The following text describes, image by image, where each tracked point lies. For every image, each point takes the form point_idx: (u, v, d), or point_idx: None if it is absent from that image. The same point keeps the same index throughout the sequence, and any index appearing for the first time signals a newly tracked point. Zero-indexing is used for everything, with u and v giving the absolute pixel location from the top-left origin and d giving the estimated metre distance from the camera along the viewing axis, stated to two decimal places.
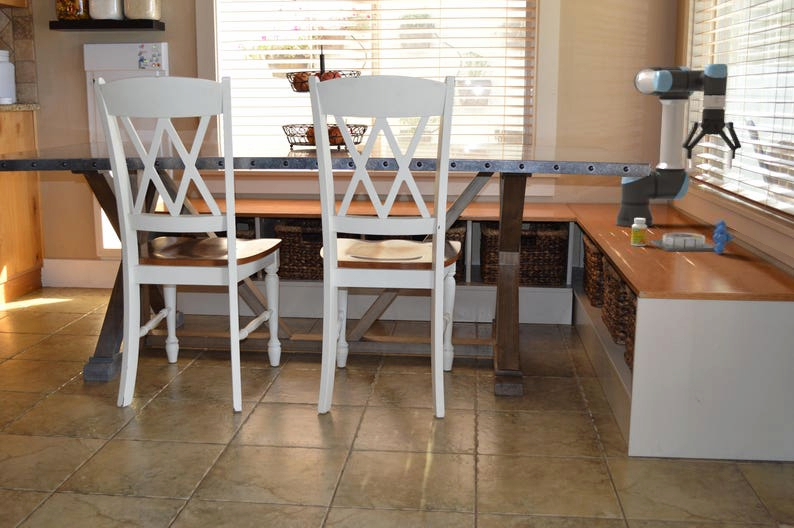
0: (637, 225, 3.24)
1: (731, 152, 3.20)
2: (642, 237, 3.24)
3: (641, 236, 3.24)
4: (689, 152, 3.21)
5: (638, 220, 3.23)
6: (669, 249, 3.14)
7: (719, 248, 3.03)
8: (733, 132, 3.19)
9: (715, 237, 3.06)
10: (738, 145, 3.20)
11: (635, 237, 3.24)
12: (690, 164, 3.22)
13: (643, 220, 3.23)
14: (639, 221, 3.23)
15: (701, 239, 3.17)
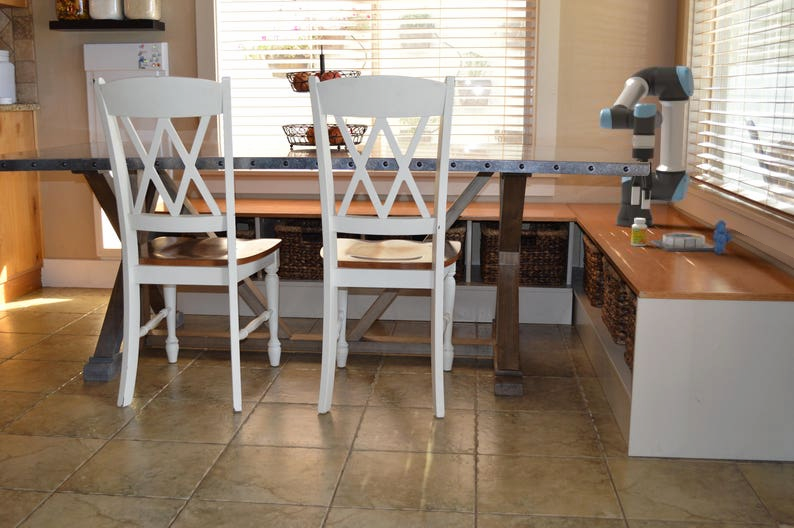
0: (637, 225, 3.24)
1: (642, 192, 3.16)
2: (642, 237, 3.24)
3: (641, 236, 3.24)
4: None
5: (638, 220, 3.23)
6: (669, 249, 3.14)
7: (719, 248, 3.03)
8: None
9: (715, 237, 3.06)
10: (645, 186, 3.14)
11: (635, 237, 3.24)
12: None
13: (643, 220, 3.23)
14: (639, 221, 3.23)
15: (701, 239, 3.17)
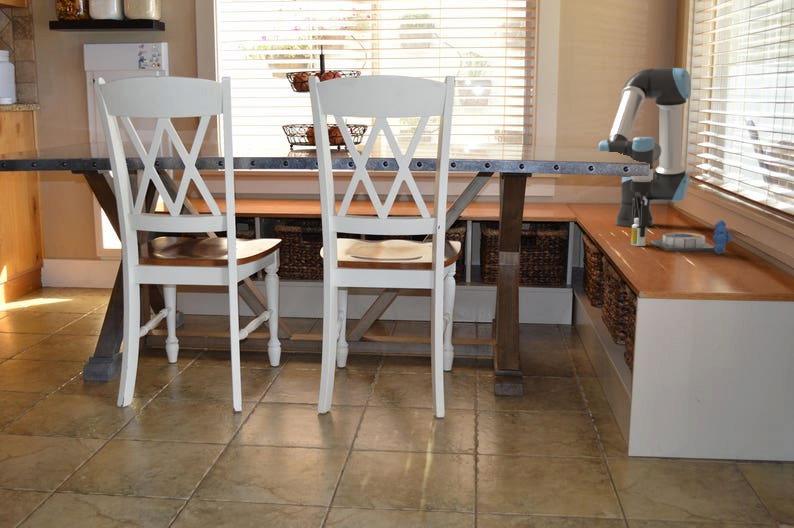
0: (637, 225, 3.24)
1: (638, 230, 3.23)
2: None
3: None
4: None
5: (638, 220, 3.23)
6: (669, 249, 3.14)
7: (719, 248, 3.03)
8: (641, 209, 3.19)
9: (715, 237, 3.06)
10: (640, 223, 3.20)
11: (635, 237, 3.24)
12: None
13: None
14: None
15: (701, 239, 3.17)
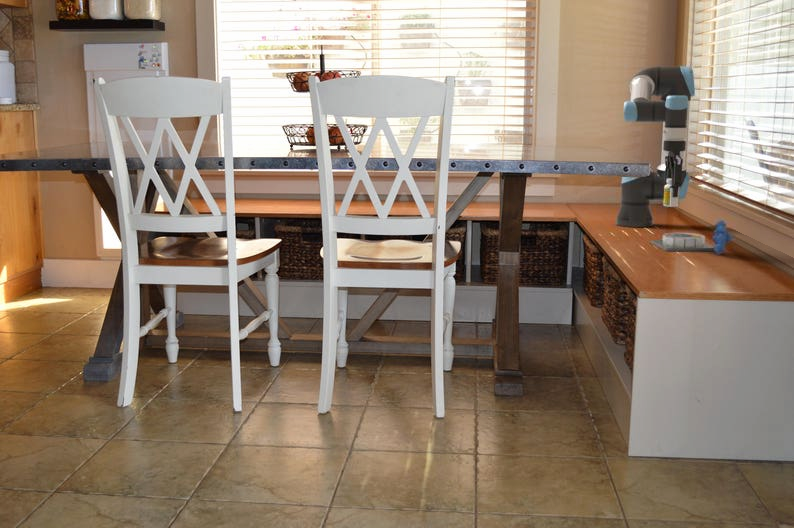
0: (670, 185, 3.18)
1: None
2: None
3: None
4: None
5: (671, 180, 3.18)
6: (669, 249, 3.14)
7: (719, 248, 3.03)
8: (674, 169, 3.13)
9: (715, 237, 3.06)
10: (673, 183, 3.14)
11: (668, 197, 3.19)
12: None
13: None
14: None
15: (701, 239, 3.17)
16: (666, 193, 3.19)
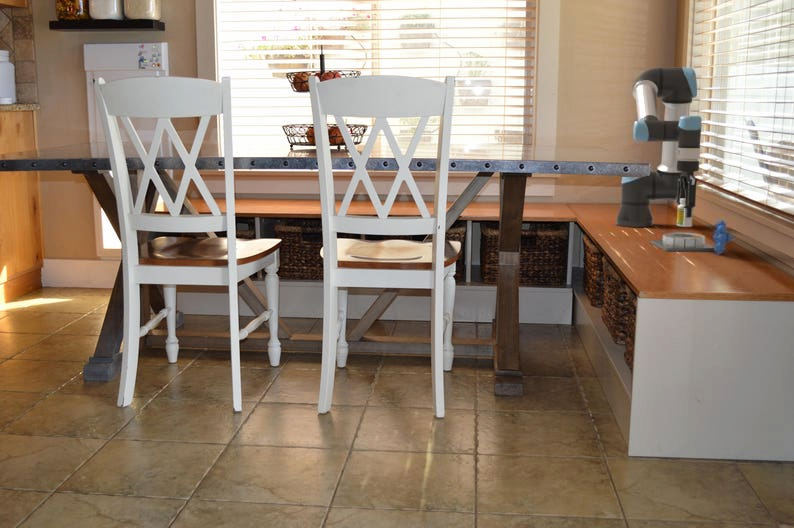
0: (683, 205, 3.19)
1: (684, 210, 3.18)
2: None
3: None
4: None
5: (684, 200, 3.18)
6: (669, 249, 3.14)
7: (719, 248, 3.03)
8: (688, 189, 3.14)
9: (715, 237, 3.06)
10: (687, 203, 3.15)
11: (681, 217, 3.19)
12: None
13: None
14: None
15: (701, 239, 3.17)
16: (680, 213, 3.19)
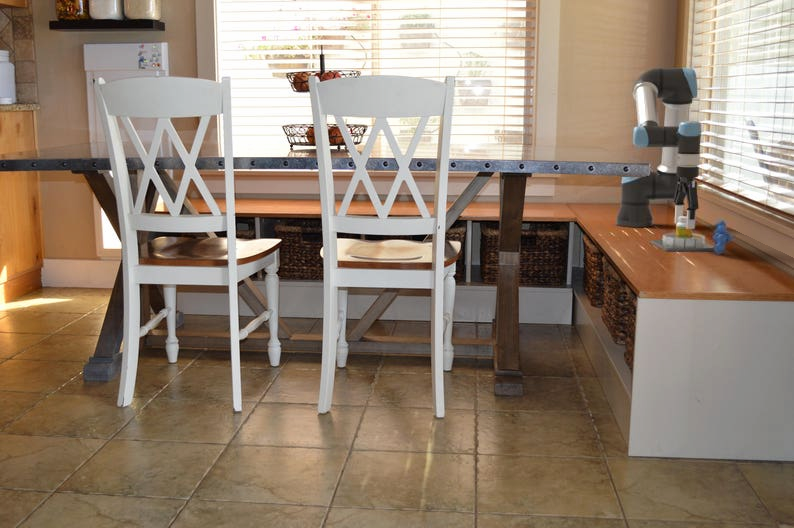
0: (682, 223, 3.20)
1: (687, 212, 3.14)
2: (687, 235, 3.19)
3: (686, 235, 3.19)
4: None
5: (683, 218, 3.19)
6: (669, 249, 3.14)
7: (719, 248, 3.03)
8: (689, 192, 3.12)
9: (715, 237, 3.06)
10: (690, 206, 3.11)
11: (680, 235, 3.20)
12: None
13: None
14: (684, 220, 3.19)
15: (701, 239, 3.17)
16: (678, 231, 3.21)
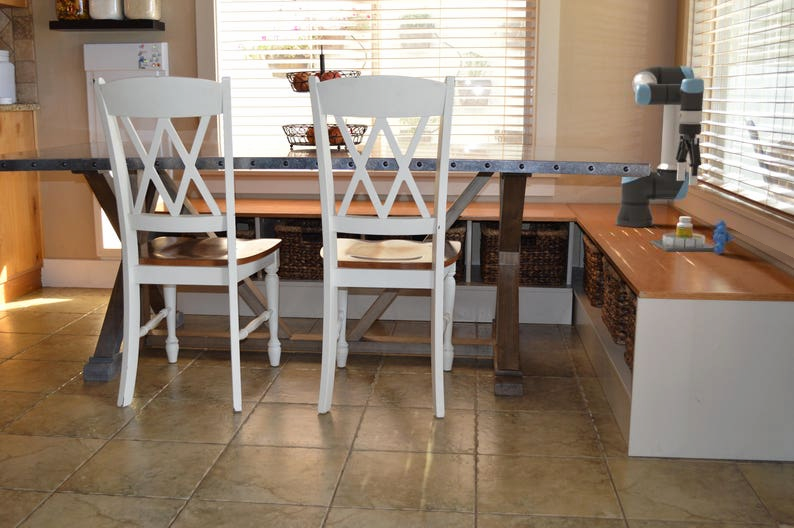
0: (683, 224, 3.20)
1: (690, 169, 3.15)
2: (687, 236, 3.19)
3: (686, 235, 3.19)
4: None
5: (684, 218, 3.19)
6: (669, 249, 3.14)
7: (719, 248, 3.03)
8: (692, 148, 3.13)
9: (715, 237, 3.06)
10: (693, 162, 3.12)
11: (681, 236, 3.20)
12: None
13: (689, 218, 3.19)
14: (685, 220, 3.19)
15: (701, 239, 3.17)
16: (679, 231, 3.20)
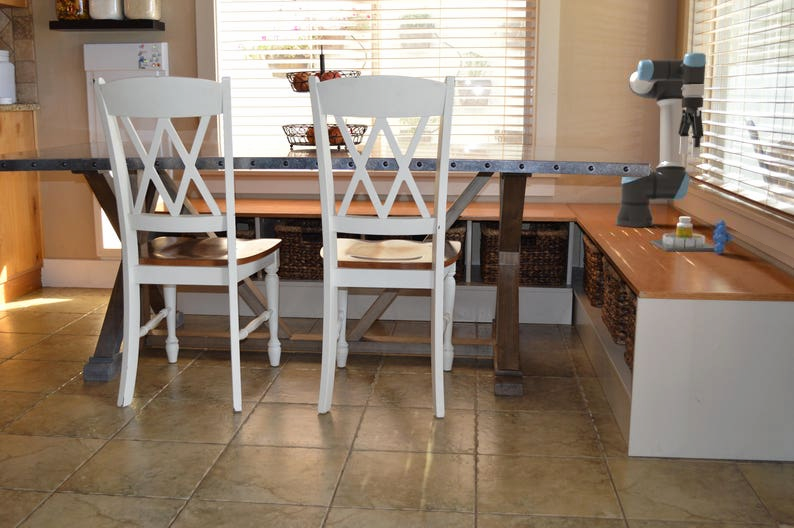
0: (683, 224, 3.19)
1: (692, 140, 3.23)
2: (687, 236, 3.19)
3: (686, 235, 3.19)
4: None
5: (684, 219, 3.19)
6: (669, 249, 3.14)
7: (719, 248, 3.03)
8: (694, 120, 3.22)
9: (715, 237, 3.06)
10: (695, 134, 3.20)
11: (681, 236, 3.20)
12: None
13: (689, 219, 3.19)
14: (684, 220, 3.19)
15: (701, 239, 3.17)
16: (679, 231, 3.20)
